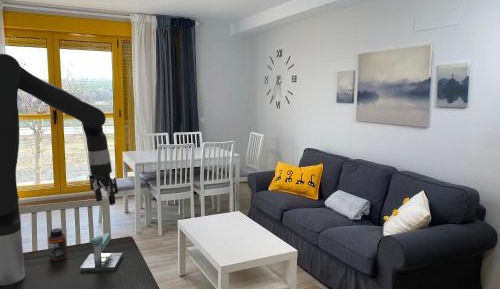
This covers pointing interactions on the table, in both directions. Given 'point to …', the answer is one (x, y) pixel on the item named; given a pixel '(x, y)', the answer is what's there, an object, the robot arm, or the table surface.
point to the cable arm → (101, 240)
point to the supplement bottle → (57, 245)
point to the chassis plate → (101, 261)
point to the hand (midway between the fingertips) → (105, 202)
